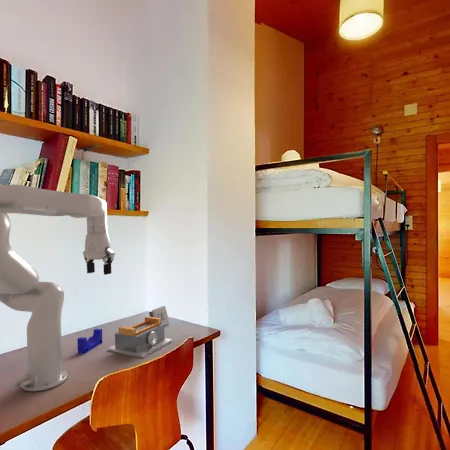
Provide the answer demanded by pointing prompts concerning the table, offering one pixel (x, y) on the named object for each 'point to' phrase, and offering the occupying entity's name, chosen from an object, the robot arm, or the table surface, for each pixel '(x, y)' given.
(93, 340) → the blue u-shaped block
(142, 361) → the table surface
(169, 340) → the motor housing
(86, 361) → the table surface
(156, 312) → the electrical switch
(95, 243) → the robot arm
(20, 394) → the table surface
